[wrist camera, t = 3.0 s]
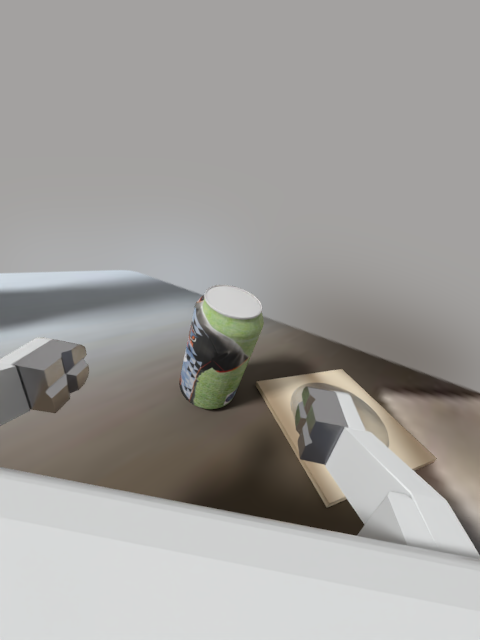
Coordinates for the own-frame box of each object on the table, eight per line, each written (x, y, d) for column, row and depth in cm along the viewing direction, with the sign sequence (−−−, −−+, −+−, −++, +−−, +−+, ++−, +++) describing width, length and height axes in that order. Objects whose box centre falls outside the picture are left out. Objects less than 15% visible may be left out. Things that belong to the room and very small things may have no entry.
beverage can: (205, 366, 30) (218, 272, 25) (255, 398, 27) (282, 298, 21) (164, 392, 25) (168, 284, 20) (218, 436, 22) (241, 319, 16)
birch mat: (326, 507, 18) (329, 503, 18) (255, 385, 29) (256, 381, 28) (433, 462, 23) (436, 458, 23) (340, 372, 34) (341, 369, 33)
